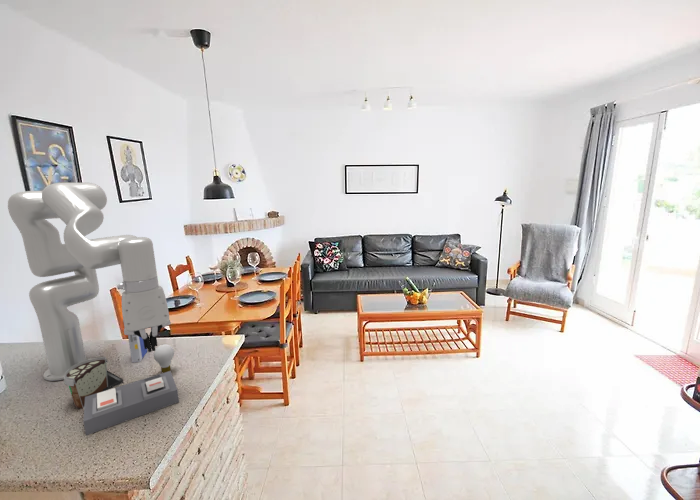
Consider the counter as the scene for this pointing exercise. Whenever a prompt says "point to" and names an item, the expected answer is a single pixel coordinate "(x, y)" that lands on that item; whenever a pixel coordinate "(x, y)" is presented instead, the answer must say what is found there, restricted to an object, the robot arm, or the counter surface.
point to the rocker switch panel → (130, 403)
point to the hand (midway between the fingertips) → (151, 349)
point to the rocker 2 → (154, 384)
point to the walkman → (136, 348)
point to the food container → (86, 379)
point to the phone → (112, 380)
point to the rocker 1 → (106, 399)
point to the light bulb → (164, 356)
